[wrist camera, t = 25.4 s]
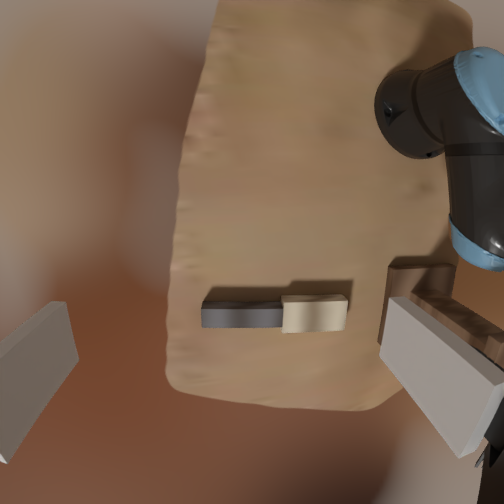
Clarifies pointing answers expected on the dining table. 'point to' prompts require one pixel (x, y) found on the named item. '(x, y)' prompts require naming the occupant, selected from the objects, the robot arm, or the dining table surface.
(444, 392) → the robot arm
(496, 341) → the stand
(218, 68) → the dining table surface
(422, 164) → the dining table surface
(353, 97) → the dining table surface
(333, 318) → the bar
